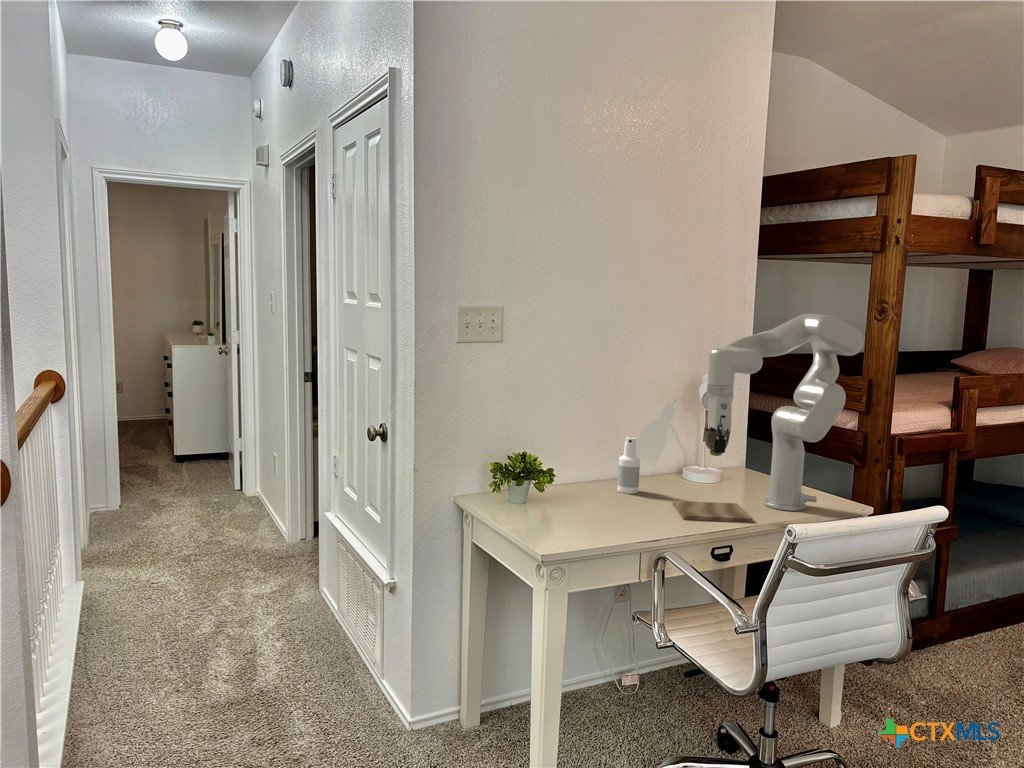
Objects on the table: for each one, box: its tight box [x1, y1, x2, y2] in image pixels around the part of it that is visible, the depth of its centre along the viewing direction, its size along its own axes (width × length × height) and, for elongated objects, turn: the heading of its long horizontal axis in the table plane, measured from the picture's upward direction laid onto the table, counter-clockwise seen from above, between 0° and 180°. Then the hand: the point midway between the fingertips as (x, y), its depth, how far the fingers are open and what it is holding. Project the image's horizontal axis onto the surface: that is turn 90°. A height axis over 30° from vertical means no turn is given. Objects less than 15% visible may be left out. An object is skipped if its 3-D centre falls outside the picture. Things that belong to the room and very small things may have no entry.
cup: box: [704, 426, 732, 457], centre depth 226 cm, size 8×7×8 cm
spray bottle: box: [616, 436, 641, 495], centre depth 250 cm, size 7×7×18 cm
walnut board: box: [672, 500, 754, 523], centre depth 229 cm, size 20×16×1 cm
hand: (716, 449), depth 226 cm, fingers closed on cup, 6 cm apart
